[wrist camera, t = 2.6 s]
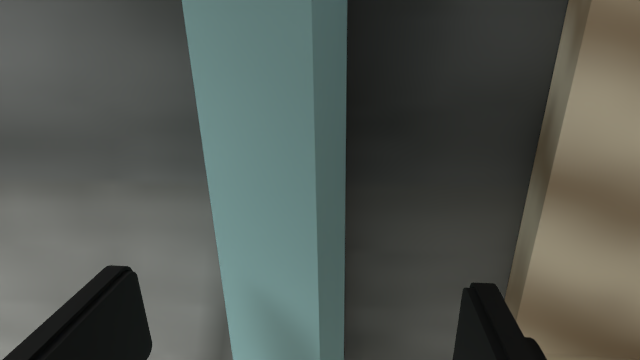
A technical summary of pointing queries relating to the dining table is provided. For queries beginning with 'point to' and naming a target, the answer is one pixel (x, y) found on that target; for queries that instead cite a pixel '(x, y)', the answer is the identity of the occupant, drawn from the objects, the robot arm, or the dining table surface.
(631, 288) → the stand
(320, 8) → the teal long bar
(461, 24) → the dining table surface
